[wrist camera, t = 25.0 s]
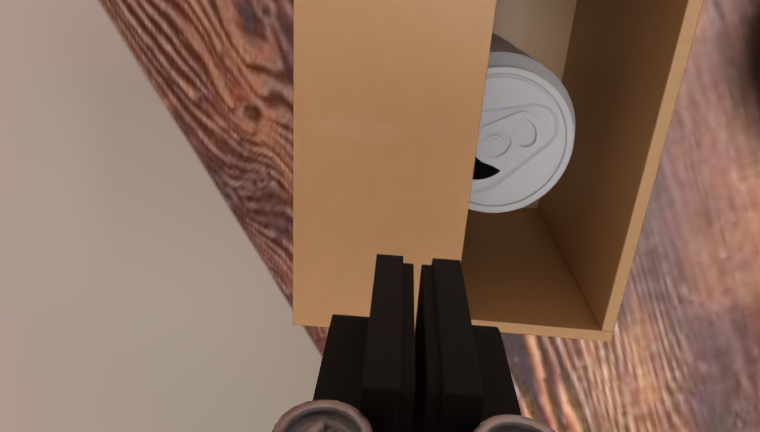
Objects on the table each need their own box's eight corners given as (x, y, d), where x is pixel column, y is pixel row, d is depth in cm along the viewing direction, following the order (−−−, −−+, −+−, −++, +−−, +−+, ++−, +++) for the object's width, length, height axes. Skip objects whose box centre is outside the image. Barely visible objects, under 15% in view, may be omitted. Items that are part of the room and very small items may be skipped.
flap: (294, 319, 23) (292, 324, 22) (295, -97, 17) (293, -99, 17) (450, 331, 23) (450, 337, 22) (506, -83, 17) (508, -84, 16)
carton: (336, 196, 36) (294, 314, 23) (345, -67, 30) (296, -98, 17) (542, 213, 35) (610, 342, 23) (593, -50, 29) (723, -70, 17)
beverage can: (395, 59, 32) (383, 102, 21) (503, 7, 30) (553, 24, 19) (438, 158, 34) (449, 246, 23) (542, 115, 32) (607, 185, 21)
